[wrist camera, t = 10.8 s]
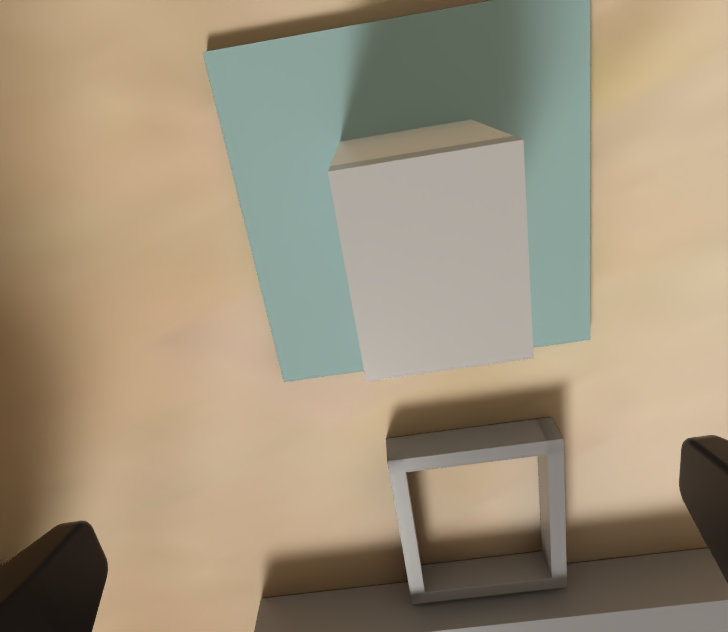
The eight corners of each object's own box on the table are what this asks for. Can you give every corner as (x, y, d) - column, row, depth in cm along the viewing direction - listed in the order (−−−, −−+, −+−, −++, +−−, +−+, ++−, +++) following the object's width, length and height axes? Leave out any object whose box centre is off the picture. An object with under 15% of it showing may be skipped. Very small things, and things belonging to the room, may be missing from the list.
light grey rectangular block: (366, 293, 19) (365, 381, 13) (340, 141, 17) (327, 171, 11) (484, 275, 19) (533, 358, 13) (471, 119, 17) (523, 139, 11)
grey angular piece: (288, 685, 27) (280, 745, 25) (216, 460, 22) (197, 508, 20) (705, 642, 26) (741, 701, 24) (734, 393, 21) (784, 435, 18)
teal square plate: (285, 376, 21) (283, 381, 20) (206, 52, 16) (202, 52, 16) (586, 334, 20) (590, 339, 20) (585, -16, 16) (589, -18, 15)
